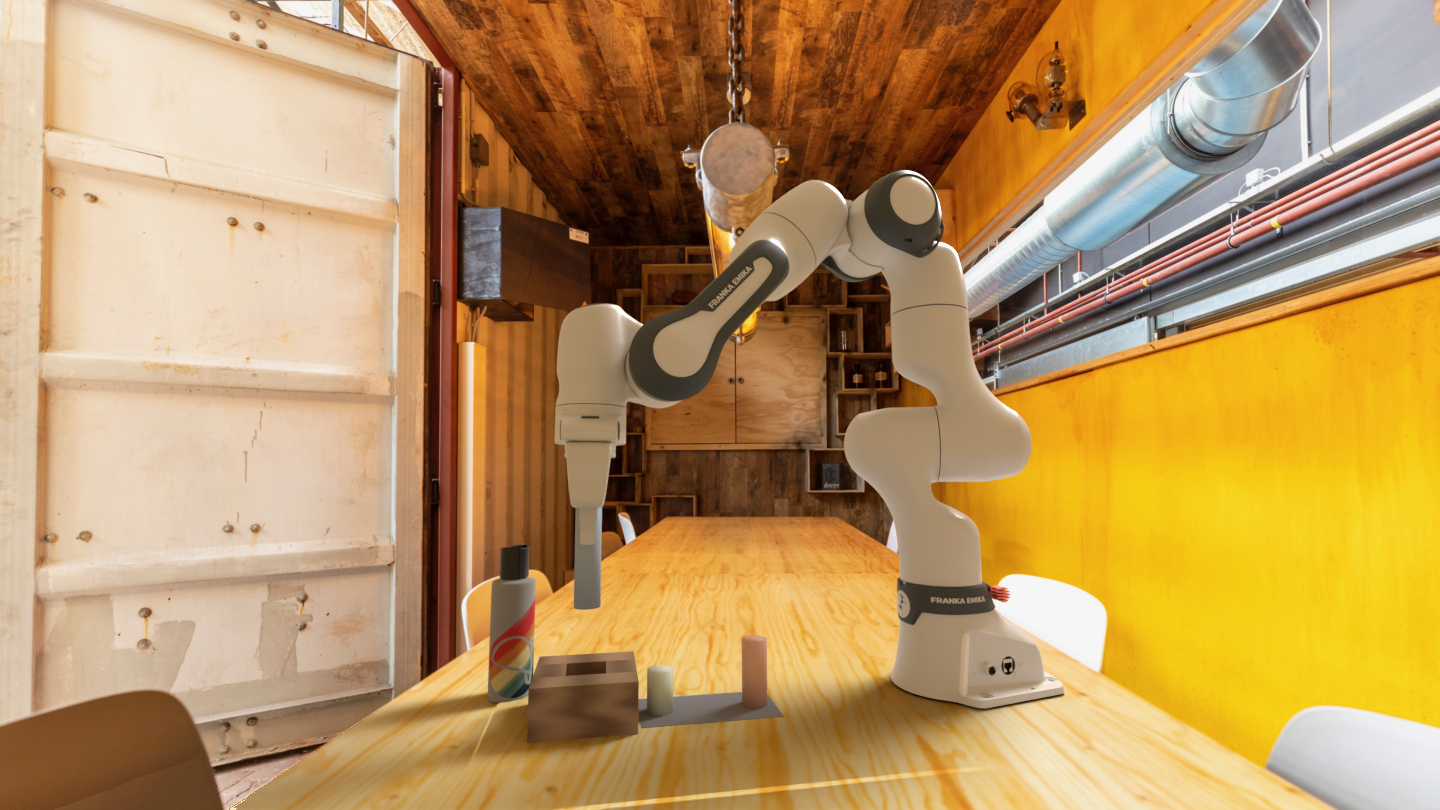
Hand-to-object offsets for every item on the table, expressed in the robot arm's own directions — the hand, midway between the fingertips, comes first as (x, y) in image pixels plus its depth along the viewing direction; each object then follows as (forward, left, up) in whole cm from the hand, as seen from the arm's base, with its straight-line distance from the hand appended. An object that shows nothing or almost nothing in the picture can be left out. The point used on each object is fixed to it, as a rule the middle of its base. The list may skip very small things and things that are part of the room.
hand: (588, 542), depth 76 cm
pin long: (0, 0, -8) cm, 8 cm away
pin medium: (-21, 0, -21) cm, 29 cm away
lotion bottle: (+10, -10, -21) cm, 25 cm away
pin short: (-9, 0, -21) cm, 23 cm away
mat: (-15, 0, -21) cm, 26 cm away
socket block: (0, 0, -21) cm, 21 cm away
